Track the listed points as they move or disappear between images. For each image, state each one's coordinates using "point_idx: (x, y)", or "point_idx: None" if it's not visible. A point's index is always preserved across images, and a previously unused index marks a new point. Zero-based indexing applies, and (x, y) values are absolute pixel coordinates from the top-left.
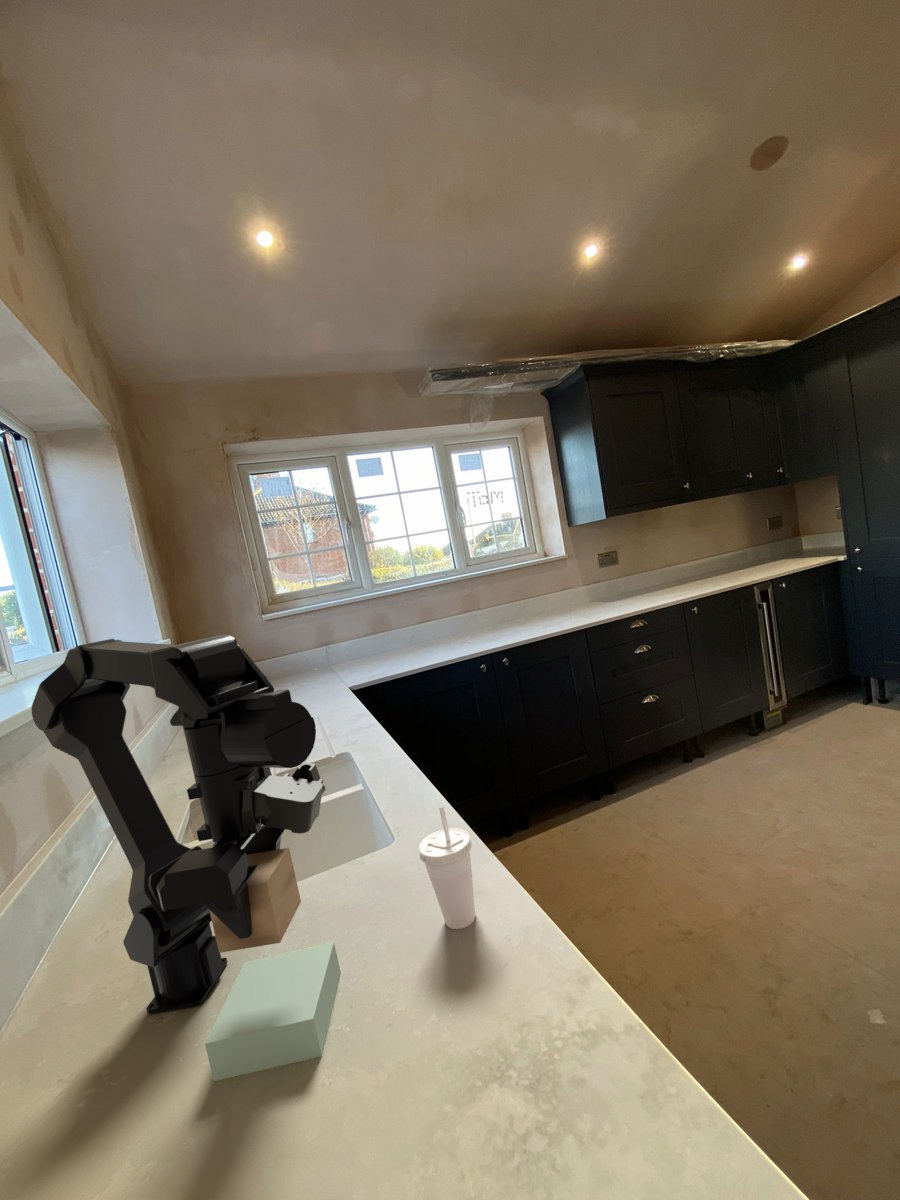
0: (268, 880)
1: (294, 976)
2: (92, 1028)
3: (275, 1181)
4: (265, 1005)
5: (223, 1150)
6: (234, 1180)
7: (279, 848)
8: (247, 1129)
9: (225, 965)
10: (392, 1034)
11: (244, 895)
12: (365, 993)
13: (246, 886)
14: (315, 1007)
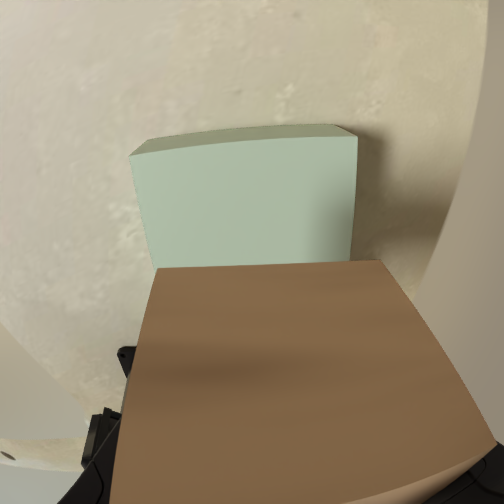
0: (479, 449)
1: (227, 215)
2: None
3: (461, 151)
4: (294, 247)
5: (416, 222)
6: (447, 197)
7: (76, 491)
8: (404, 203)
9: (127, 348)
10: (316, 10)
11: (491, 453)
12: (211, 70)
13: (485, 478)
14: (332, 138)
